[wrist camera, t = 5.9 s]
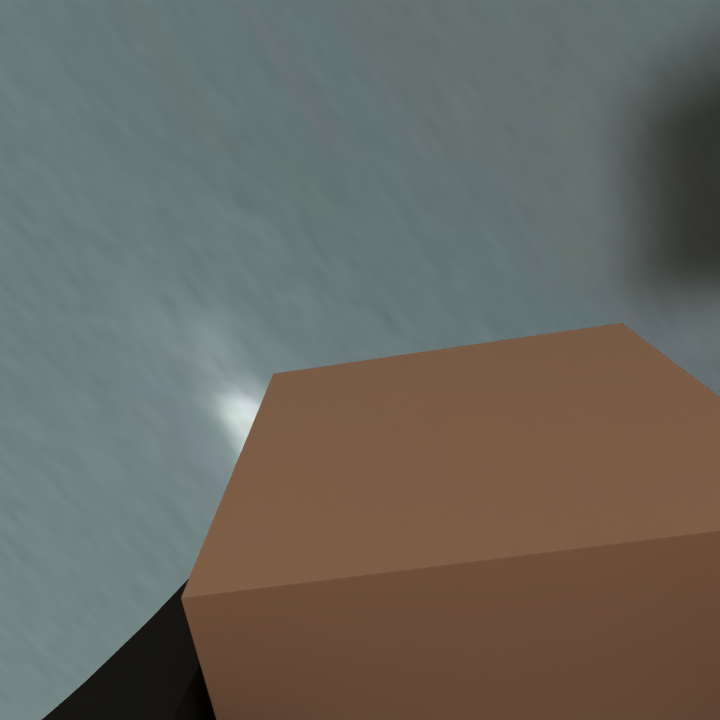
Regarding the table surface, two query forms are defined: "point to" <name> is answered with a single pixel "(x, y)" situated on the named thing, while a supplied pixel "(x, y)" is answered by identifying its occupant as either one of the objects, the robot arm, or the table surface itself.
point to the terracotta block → (470, 540)
